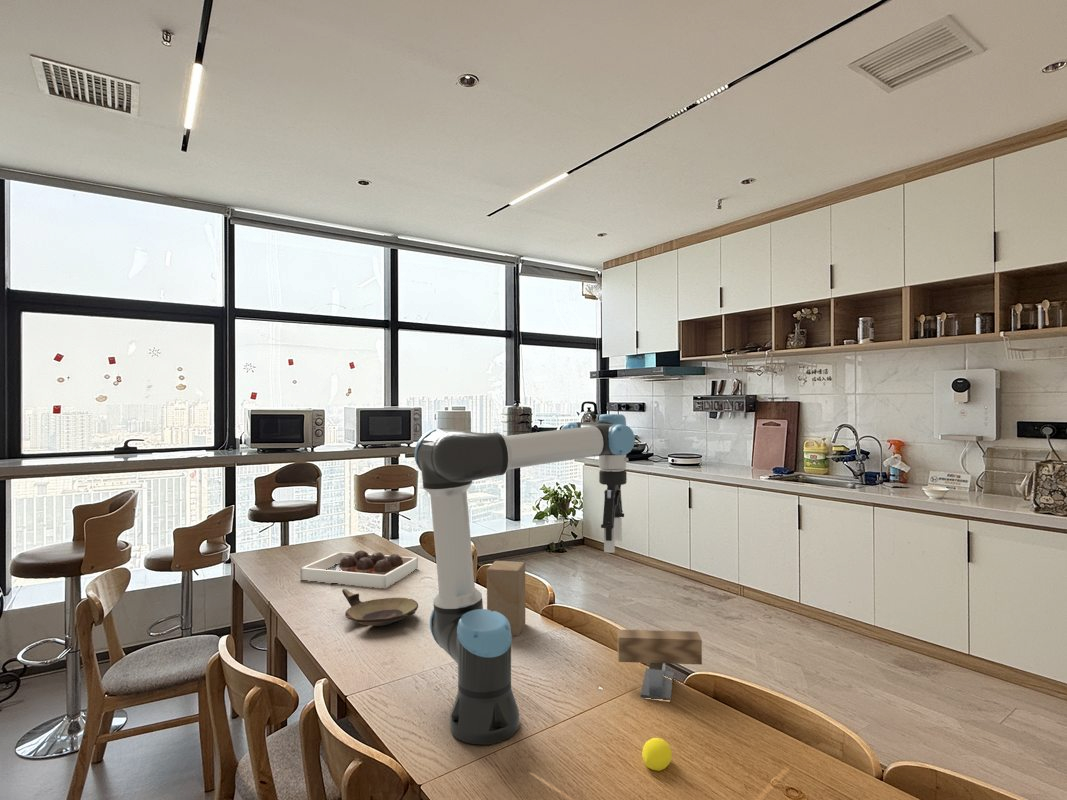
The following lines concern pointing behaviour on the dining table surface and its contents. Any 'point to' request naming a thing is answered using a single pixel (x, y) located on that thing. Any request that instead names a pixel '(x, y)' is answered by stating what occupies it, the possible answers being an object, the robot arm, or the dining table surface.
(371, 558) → the chocolate truffle
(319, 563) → the truffle corral
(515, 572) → the wooden block
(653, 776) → the dining table surface
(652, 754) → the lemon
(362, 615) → the olive brown pan
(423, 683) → the dining table surface
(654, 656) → the walnut bar
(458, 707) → the robot arm
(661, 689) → the fulcrum
